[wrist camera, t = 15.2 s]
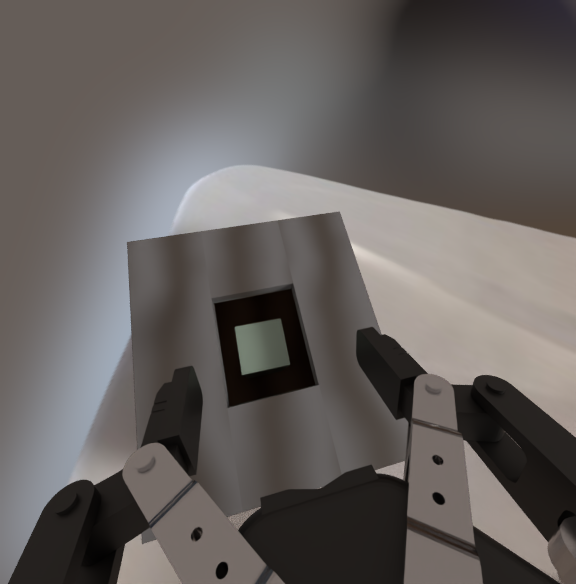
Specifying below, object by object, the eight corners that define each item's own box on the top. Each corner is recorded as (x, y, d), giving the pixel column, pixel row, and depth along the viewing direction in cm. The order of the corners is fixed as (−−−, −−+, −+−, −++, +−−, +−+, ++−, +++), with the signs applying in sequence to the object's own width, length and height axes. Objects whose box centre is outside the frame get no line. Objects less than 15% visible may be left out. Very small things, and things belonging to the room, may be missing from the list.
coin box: (311, 274, 42) (339, 211, 27) (353, 425, 35) (422, 455, 20) (179, 298, 39) (127, 242, 24) (198, 469, 32) (141, 544, 17)
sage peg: (274, 338, 37) (280, 318, 26) (281, 371, 36) (290, 364, 24) (243, 345, 36) (234, 326, 25) (248, 378, 35) (241, 374, 24)
